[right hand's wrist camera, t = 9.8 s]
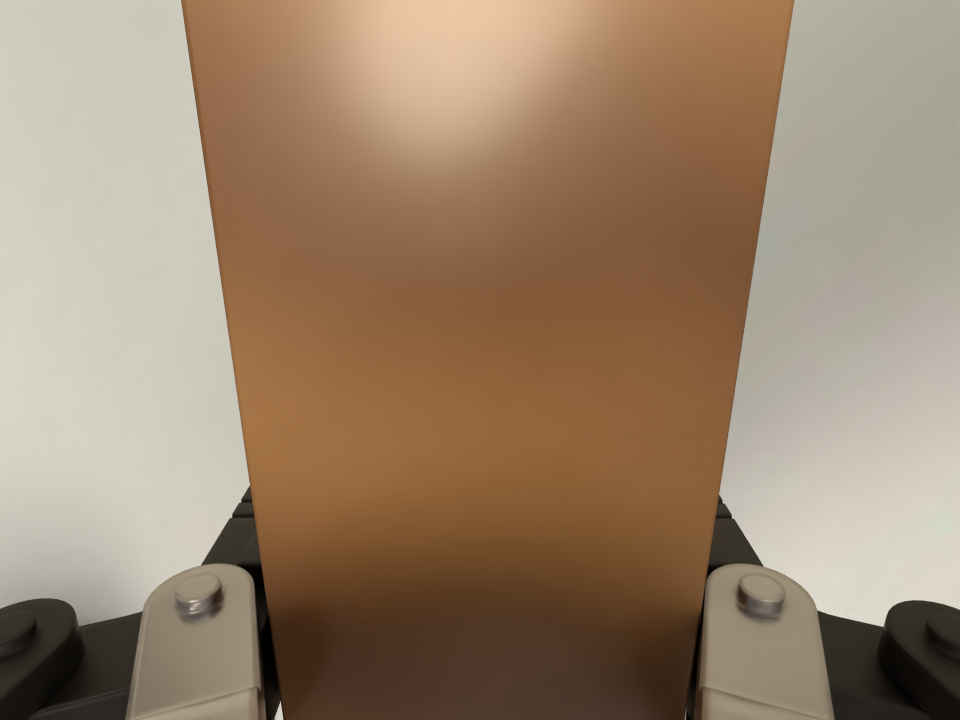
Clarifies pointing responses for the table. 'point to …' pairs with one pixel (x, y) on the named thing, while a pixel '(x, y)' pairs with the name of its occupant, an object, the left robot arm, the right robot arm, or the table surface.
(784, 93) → the table surface
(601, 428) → the beam
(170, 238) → the table surface
